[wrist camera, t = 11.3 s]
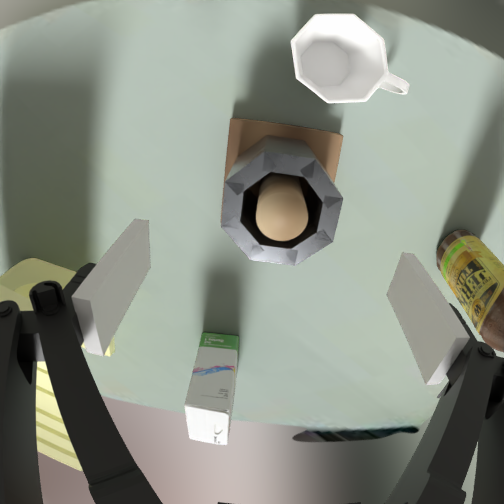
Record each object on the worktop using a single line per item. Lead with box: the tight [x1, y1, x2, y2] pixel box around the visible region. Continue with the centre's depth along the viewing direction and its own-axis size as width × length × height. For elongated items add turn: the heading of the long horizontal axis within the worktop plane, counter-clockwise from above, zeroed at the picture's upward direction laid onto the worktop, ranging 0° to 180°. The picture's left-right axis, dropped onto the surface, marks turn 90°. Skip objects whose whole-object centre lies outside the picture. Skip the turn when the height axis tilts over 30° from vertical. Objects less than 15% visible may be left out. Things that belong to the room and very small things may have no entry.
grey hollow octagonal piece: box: [221, 135, 343, 266], centre depth 26 cm, size 8×8×8 cm
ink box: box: [185, 333, 239, 445], centre depth 37 cm, size 9×5×12 cm, turn 176°
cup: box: [291, 14, 410, 103], centre depth 22 cm, size 7×10×8 cm
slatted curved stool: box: [0, 258, 115, 471], centre depth 33 cm, size 30×16×18 cm, turn 166°
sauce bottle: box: [437, 230, 504, 352], centre depth 24 cm, size 6×6×20 cm
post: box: [221, 118, 343, 241], centre depth 26 cm, size 10×10×10 cm
